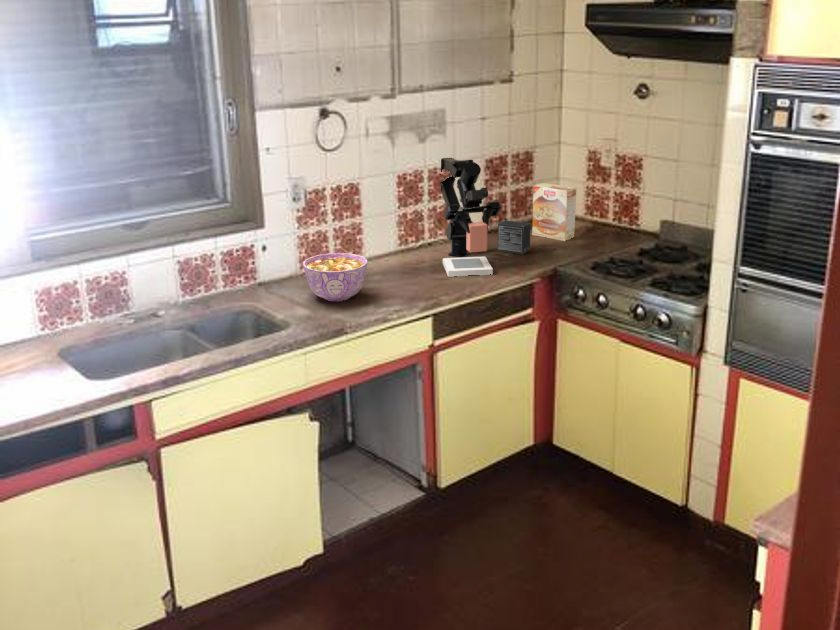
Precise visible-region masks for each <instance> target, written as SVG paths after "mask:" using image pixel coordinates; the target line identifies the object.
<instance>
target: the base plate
mask: <svg viewBox="0 0 840 630" xmlns="http://www.w3.org/2000/svg"><path fill="white" fill-rule="evenodd" d="M442 265H443V268H444V270H445V272H446V274H447V277H449V278H452V277H454V276H457V277H469V276H468V275H480V276H493V275H494V274H493V273H494V269H493V267H492V266H491V263H490V262H489V260H488V259H487V257H486V256H465V257H461V256H460V257H445V258H442ZM490 274H491V275H490Z"/></svg>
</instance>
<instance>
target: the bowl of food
mask: <svg viewBox="0 0 840 630" xmlns="http://www.w3.org/2000/svg"><path fill="white" fill-rule="evenodd" d="M367 265H368V259H367V258H366V257H365V256H362V255H359V254H354V253H346V252H336V253H335V252H331V253H323V254H318V255H314V256H311V257H309V258H307V259H305V260H303V262H302V267H303V270H304V273H305V276H306V280H307V283H308V285H309V286H308V287H309V288H310V289H311V291H312V292H313V293H314V295H316V296H318V297H320V298H321V299H324V300H326V301H327V300H328V302H343V300H344V301H346V300H349V299H350V298H351V297H353V296H355V295H357V294H358V293H359V292H360V290H361V289H362V288H363V285H364V281H365V280H364V279H365V275H366V271H367Z"/></svg>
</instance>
